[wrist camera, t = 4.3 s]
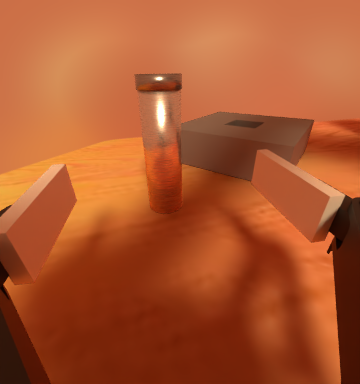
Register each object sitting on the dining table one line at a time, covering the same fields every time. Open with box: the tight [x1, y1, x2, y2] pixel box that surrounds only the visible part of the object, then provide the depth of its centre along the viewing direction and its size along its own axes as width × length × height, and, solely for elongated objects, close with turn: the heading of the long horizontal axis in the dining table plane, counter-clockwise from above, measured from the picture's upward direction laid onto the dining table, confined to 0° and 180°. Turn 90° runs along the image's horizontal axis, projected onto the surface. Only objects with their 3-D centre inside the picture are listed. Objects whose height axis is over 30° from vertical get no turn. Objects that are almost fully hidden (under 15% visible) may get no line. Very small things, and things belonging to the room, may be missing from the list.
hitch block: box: [181, 112, 314, 181], centre depth 39 cm, size 20×20×6 cm
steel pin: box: [135, 74, 182, 213], centre depth 22 cm, size 4×4×14 cm
